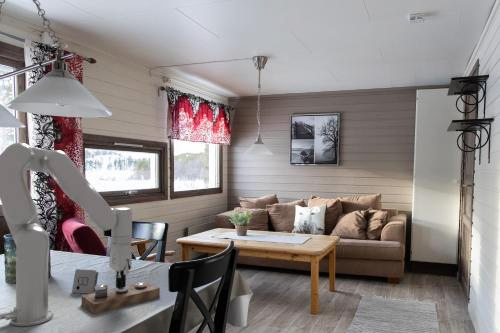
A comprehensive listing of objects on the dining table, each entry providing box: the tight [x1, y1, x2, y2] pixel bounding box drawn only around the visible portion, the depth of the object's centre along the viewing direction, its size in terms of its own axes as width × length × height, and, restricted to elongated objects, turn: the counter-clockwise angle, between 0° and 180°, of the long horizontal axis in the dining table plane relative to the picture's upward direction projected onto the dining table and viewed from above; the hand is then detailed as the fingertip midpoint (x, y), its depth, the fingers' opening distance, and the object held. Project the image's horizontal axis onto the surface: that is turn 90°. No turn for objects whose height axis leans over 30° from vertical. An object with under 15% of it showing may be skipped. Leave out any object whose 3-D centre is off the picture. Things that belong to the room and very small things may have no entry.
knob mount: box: [80, 281, 161, 315], centre depth 149 cm, size 26×12×4 cm, turn 134°
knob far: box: [134, 281, 147, 289], centre depth 154 cm, size 4×4×4 cm
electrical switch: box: [71, 268, 99, 294], centre depth 160 cm, size 9×5×9 cm, turn 78°
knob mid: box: [115, 287, 128, 294], centre depth 149 cm, size 4×4×4 cm
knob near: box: [94, 283, 109, 299], centre depth 143 cm, size 4×4×4 cm
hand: (120, 287), depth 149 cm, fingers closed
